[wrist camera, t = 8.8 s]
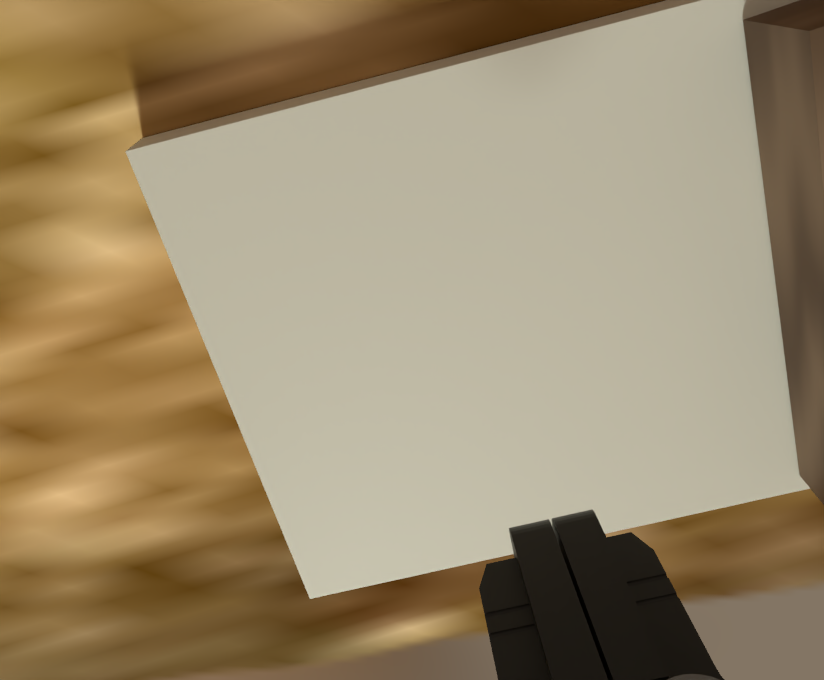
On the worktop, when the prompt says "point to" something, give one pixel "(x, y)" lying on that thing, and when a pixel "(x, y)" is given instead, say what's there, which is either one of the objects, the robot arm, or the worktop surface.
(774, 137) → the folding leg
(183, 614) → the worktop surface
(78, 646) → the worktop surface
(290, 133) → the stool seat
